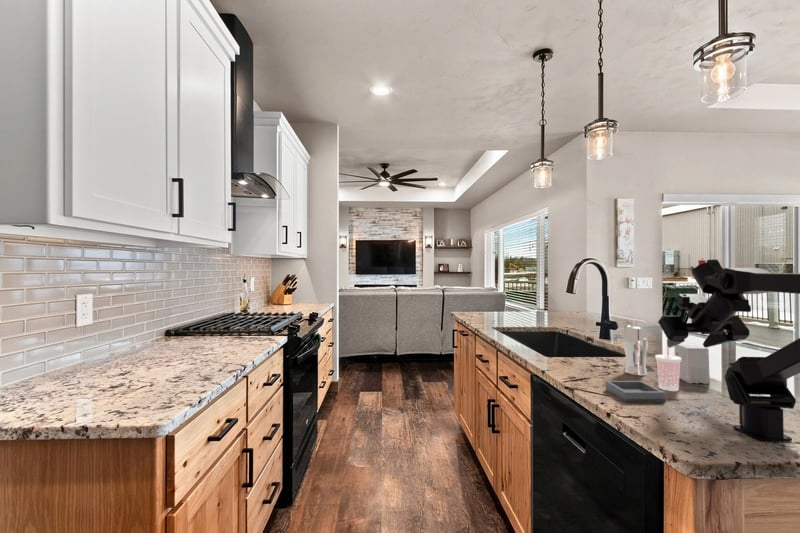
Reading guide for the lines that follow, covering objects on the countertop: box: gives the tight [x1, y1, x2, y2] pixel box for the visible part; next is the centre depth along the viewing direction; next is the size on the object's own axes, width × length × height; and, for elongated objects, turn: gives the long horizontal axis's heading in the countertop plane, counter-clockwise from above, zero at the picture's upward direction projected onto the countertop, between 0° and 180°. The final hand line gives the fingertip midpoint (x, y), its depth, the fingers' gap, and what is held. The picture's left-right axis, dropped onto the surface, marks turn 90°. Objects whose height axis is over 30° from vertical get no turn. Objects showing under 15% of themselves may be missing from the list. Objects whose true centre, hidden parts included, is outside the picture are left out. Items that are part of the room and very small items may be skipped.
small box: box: [673, 342, 711, 385], centre depth 116 cm, size 8×6×10 cm
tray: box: [605, 380, 666, 403], centre depth 102 cm, size 10×10×2 cm
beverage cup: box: [654, 344, 681, 392], centre depth 108 cm, size 6×6×14 cm
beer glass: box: [622, 325, 649, 377], centre depth 124 cm, size 7×7×15 cm
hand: (686, 346), depth 101 cm, fingers open, 9 cm apart
